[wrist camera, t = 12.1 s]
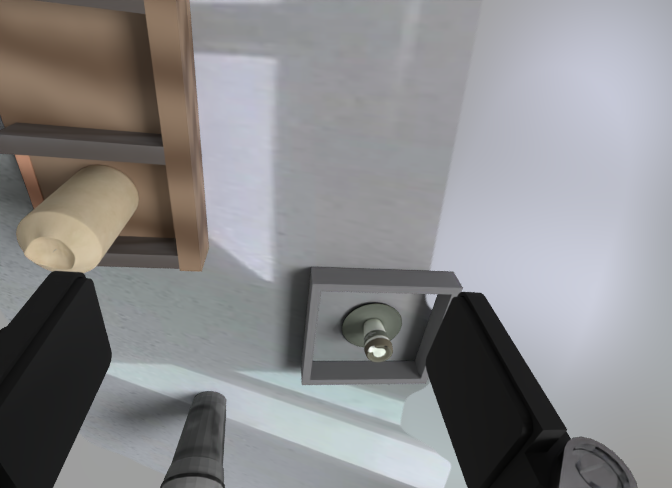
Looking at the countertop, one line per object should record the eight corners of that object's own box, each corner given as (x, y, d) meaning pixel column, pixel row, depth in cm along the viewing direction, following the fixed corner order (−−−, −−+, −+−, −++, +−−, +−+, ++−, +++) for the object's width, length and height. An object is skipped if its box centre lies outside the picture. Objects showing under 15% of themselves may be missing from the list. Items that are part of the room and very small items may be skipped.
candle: (77, 213, 35) (12, 282, 27) (69, 158, 32) (-6, 215, 24) (140, 222, 37) (96, 291, 28) (138, 170, 34) (89, 229, 25)
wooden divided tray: (-46, -45, 25) (-97, -51, 22) (188, -13, 28) (174, -14, 24) (53, 242, 38) (30, 266, 35) (208, 248, 40) (201, 271, 37)
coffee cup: (381, 365, 53) (388, 396, 49) (307, 337, 49) (309, 369, 45) (437, 309, 48) (451, 338, 44) (361, 273, 44) (368, 302, 40)
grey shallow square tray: (311, 266, 43) (312, 283, 40) (453, 271, 45) (462, 287, 43) (301, 366, 52) (301, 385, 49) (419, 365, 54) (425, 383, 52)
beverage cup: (230, 418, 57) (206, 593, 40) (179, 413, 55) (132, 594, 38) (241, 388, 53) (219, 567, 37) (187, 381, 51) (138, 567, 35)
